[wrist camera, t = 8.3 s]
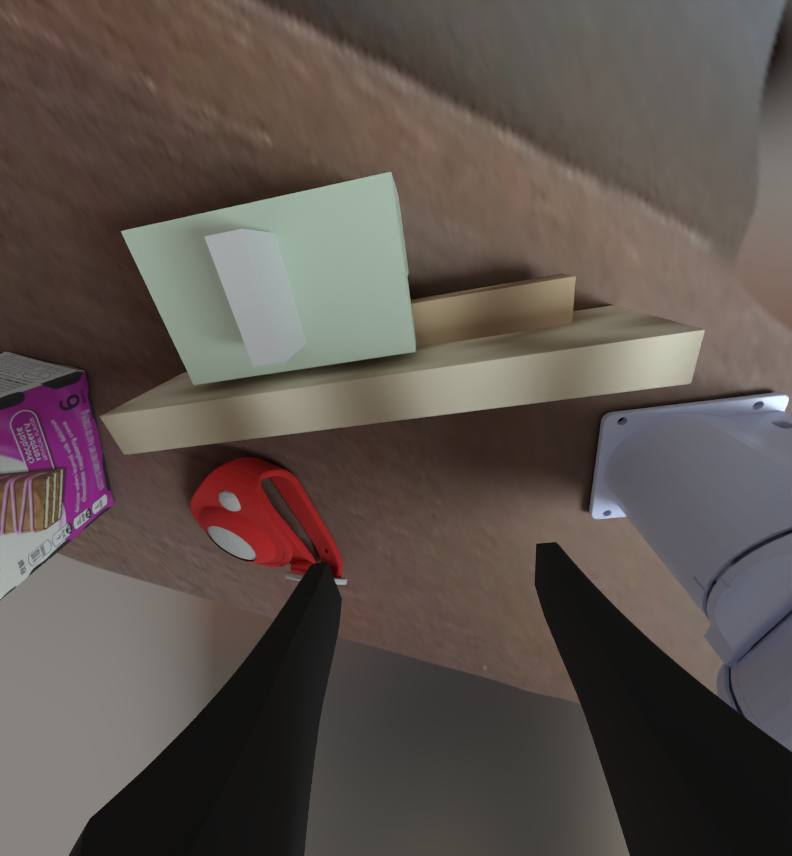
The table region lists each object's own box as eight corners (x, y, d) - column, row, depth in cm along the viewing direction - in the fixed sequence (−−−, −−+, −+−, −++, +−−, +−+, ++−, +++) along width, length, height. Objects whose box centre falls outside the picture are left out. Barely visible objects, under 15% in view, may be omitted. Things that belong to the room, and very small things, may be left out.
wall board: (619, 261, 16) (721, 266, 11) (608, 344, 18) (691, 383, 12) (168, 338, 19) (71, 372, 14) (198, 402, 21) (124, 454, 15)
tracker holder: (192, 553, 26) (152, 472, 19) (231, 509, 29) (208, 427, 23) (333, 618, 24) (341, 554, 18) (357, 563, 28) (372, 492, 21)
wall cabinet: (398, 194, 15) (384, 151, 9) (416, 327, 18) (416, 371, 11) (199, 236, 16) (54, 226, 10) (244, 354, 19) (154, 408, 13)
